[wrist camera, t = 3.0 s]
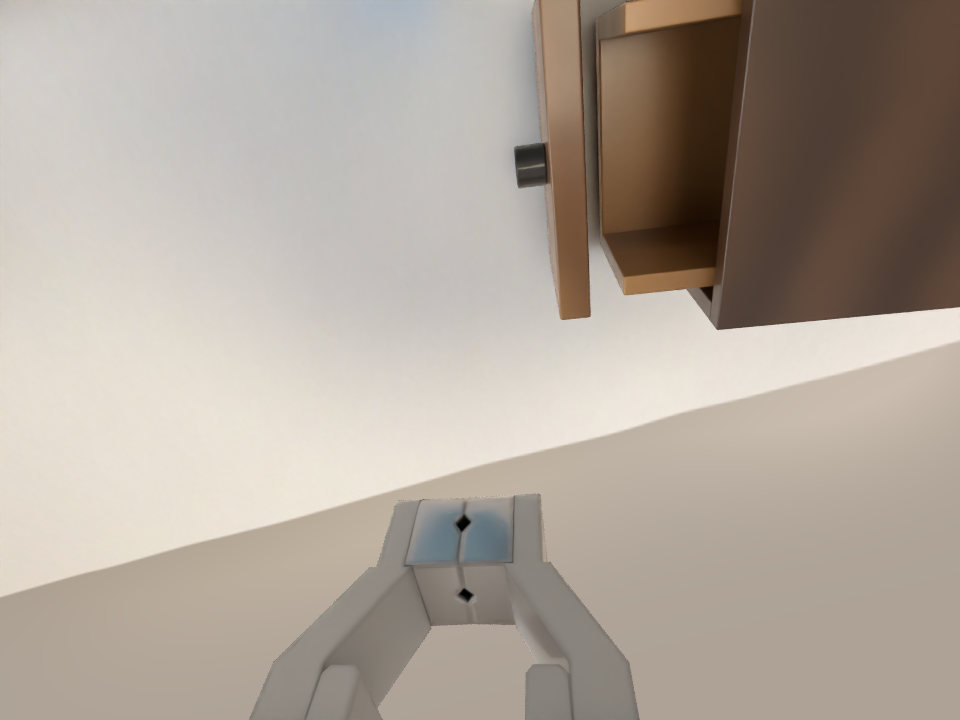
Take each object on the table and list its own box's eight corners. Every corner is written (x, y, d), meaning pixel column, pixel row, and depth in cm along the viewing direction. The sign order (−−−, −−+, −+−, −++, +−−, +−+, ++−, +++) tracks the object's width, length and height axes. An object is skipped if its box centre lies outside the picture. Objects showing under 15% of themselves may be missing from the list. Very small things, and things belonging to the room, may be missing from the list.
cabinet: (659, 254, 26) (716, 330, 18) (671, -33, 20) (763, -90, 12) (947, 221, 24) (1136, 291, 17) (1055, -104, 18) (1426, -219, 11)
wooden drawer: (527, 265, 26) (530, 323, 20) (502, 14, 20) (496, -5, 14) (809, 232, 24) (904, 286, 18) (865, -51, 18) (1025, -105, 13)
